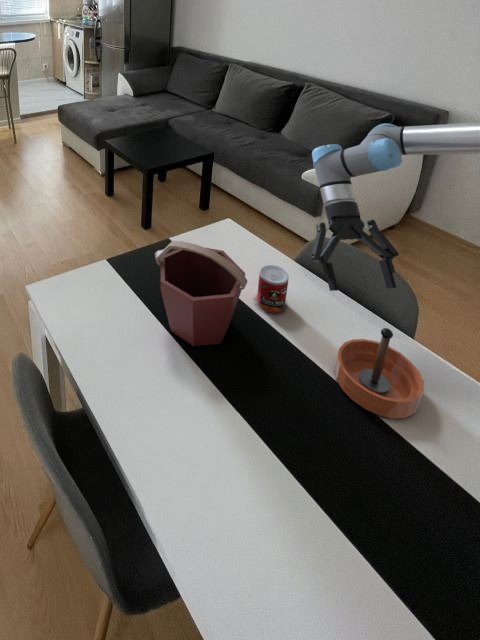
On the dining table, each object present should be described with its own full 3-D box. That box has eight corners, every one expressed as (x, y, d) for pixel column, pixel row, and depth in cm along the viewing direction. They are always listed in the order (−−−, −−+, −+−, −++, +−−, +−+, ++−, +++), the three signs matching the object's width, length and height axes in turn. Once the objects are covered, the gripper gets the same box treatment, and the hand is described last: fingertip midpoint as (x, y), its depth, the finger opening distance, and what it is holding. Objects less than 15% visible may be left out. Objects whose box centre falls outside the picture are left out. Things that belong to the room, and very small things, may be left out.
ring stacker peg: (384, 375, 102) (399, 322, 96) (393, 398, 97) (408, 343, 91) (356, 369, 104) (368, 317, 98) (362, 392, 99) (376, 337, 93)
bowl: (403, 364, 105) (408, 346, 103) (430, 429, 91) (436, 410, 89) (328, 350, 111) (331, 333, 108) (342, 409, 96) (346, 391, 94)
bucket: (140, 319, 125) (138, 249, 115) (185, 281, 138) (187, 215, 129) (214, 372, 107) (219, 294, 98) (258, 322, 120) (265, 250, 111)
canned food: (257, 311, 124) (260, 281, 120) (255, 292, 131) (258, 263, 127) (286, 315, 122) (290, 285, 118) (282, 296, 129) (286, 266, 125)
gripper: (380, 203, 114) (405, 286, 107) (286, 208, 116) (304, 291, 108) (398, 197, 107) (426, 286, 100) (296, 203, 109) (317, 291, 101)
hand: (362, 289), depth 104 cm, fingers open, 13 cm apart
